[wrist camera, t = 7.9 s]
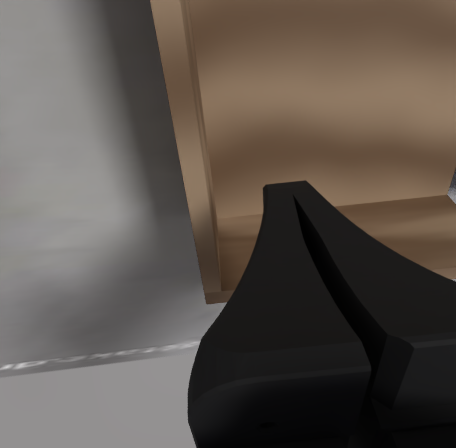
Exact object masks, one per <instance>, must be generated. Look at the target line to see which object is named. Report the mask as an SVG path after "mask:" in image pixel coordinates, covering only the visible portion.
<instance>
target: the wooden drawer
mask: <svg viewBox="0 0 456 448" xmlns="http://www.w3.org/2000/svg"><path fill="white" fill-rule="evenodd" d="M150 3H151V8H152V13H153V19H154V24H155V30H156V35H157V40H158V46H159V51H160V57H161V62H162V67H163V73H164V78H165V84H166V89H167V94H168V100H169V105H170V111H171V116H172V121H173V127H174V132H175V138H176V143H177V148H178V154H179V159H180V165H181V170H182V175H183V181H184V186H185V191H186V197H187V202H188V208H189V213H190V218H191V224H192V229H193V235H194V240H195V245H196V251H197V256H198V262H199V267H200V272H201V278H202V283H203V289H204V294H205V299H206V304H215V303H224V302H228V301H229V299H230V297H231V296H232V294H233V292H234V291H235V289H236V287H237V285H238V283H239V281H240V279H241V277H242V275H243V273H244V271H245V269H246V267H247V265H248V262H249V260H250V257H251V255H252V252H253V249H254V247H255V244H256V240H257V237H258V233H259V230H260V226H261V221H262V216H263V187H264V186H265V185H266V184H275V183H285V182H294V181H304V180H306V181H307V182H308V183H310V184H311V185H312V186H313V187H314V188H315V189H316V190H317V191H318V192H319V193H320V194H321V195H322V196H323V197H324V198H325V199H326V200H327V201H328V202H329V203H331V204H332V205H333V206H334V207H335V208H336V209H337V210H338V211H340V212H341V213H342V214H343V215H344V216H345V217H347V218H348V219H349V220H350V221H351V222H353V223H354V224H355V225H357V226H358V227H359V228H361V229H362V230H363V231H365V232H366V233H367V234H369V235H370V236H372V237H373V238H375V239H376V240H377V241H379V242H381V243H382V244H384V245H385V246H387V247H389V248H390V249H392V250H394V251H395V252H397V253H399V254H400V255H402V256H404V257H406V258H407V259H409V260H411V261H413V262H415V263H417V264H419V265H421V266H423V267H425V268H427V269H429V270H431V271H433V272H435V273H437V274H440V275H442V276H444V277H446V278H448V279H456V204H455V203H454V202H453V201H452V200H451V199H450V197H449V196H448V195H447V193H448V190H449V187H450V184H451V181H452V178H453V175H454V172H455V169H456V0H150Z"/></svg>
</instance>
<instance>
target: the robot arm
mask: <svg viewBox="0 0 456 448" xmlns="http://www.w3.org/2000/svg"><path fill="white" fill-rule="evenodd" d="M188 423H189V426H190V429H191V432H192V435H193V438H194V441H195V444H196V447H197V448H456V282H455V281H453V280H451V279H448V278H446V277H444V276H442V275H440V274H437V273H435V272H433V271H431V270H429V269H427V268H425V267H423V266H421V265H419V264H417V263H415V262H413V261H411V260H409V259H407V258H406V257H404V256H402V255H400V254H399V253H397V252H395V251H394V250H392V249H390V248H389V247H387V246H385V245H384V244H382V243H381V242H379V241H377V240H376V239H375V238H373V237H372V236H370V235H369V234H367V233H366V232H365V231H363V230H362V229H361V228H359V227H358V226H357V225H355V224H354V223H353V222H351V221H350V220H349V219H348V218H347V217H345V216H344V215H343V214H342V213H341V212H340V211H338V210H337V209H336V208H335V207H334V206H333V205H332V204H331V203H329V202H328V201H327V200H326V199H325V198H324V197H323V196H322V195H321V194H320V193H319V192H318V191H317V190H316V189H315V188H314V187H313V186H312V185H311V184H310V183H308V182H307V181H306V180H304V181H294V182H285V183H275V184H266V185H265V186H264V187H263V216H262V221H261V226H260V230H259V233H258V237H257V240H256V244H255V247H254V249H253V252H252V255H251V257H250V260H249V262H248V265H247V267H246V269H245V271H244V273H243V275H242V277H241V279H240V281H239V283H238V285H237V287H236V289H235V291H234V292H233V294H232V296H231V297H230V299H229V301H228V302H227V304H226V305H225V307H224V309H223V310H222V312H221V313H220V315H219V316H218V317H217V319H216V320H215V321H214V323H213V324H212V325H211V327H210V328H209V329H208V331H207V332H206V333H205V335H204V336H203V337H202V339H201V342H200V345H199V348H198V351H197V354H196V357H195V361H194V364H193V368H192V372H191V376H190V381H189V388H188Z"/></svg>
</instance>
